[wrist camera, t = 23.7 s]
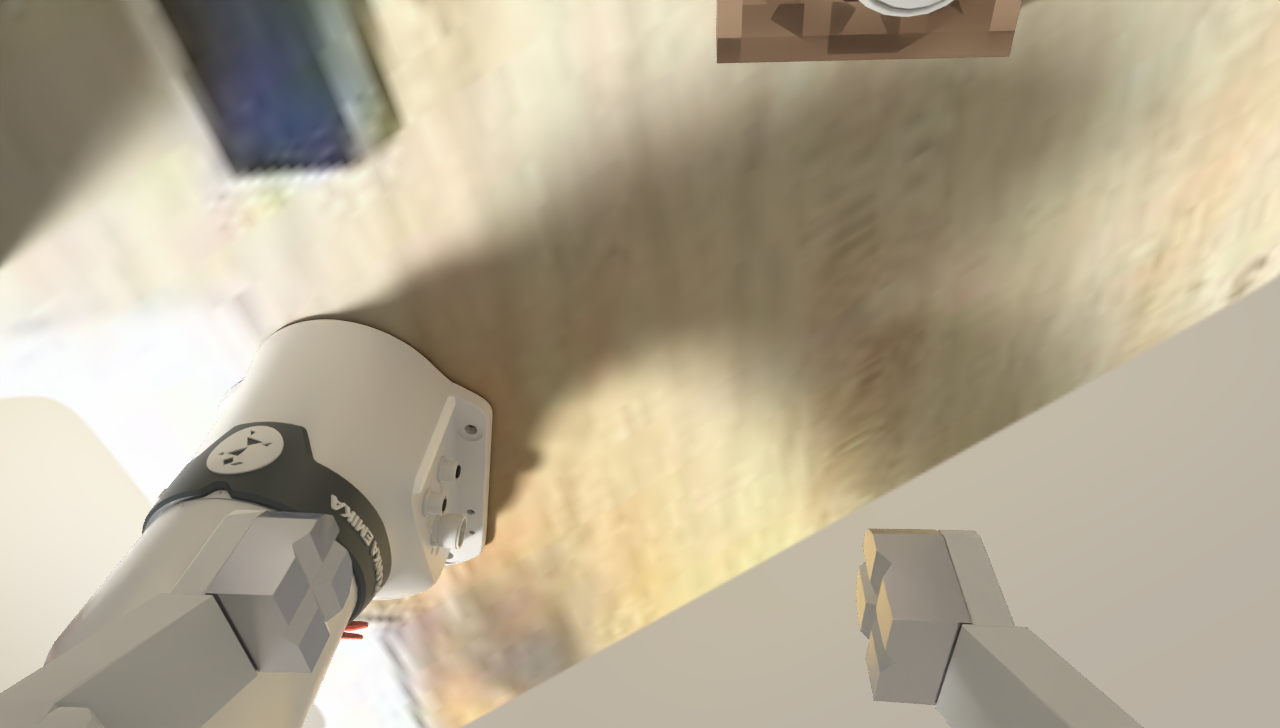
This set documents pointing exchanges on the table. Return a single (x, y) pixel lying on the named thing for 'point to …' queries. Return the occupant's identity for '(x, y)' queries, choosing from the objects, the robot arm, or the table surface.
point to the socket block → (860, 31)
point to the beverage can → (905, 6)
